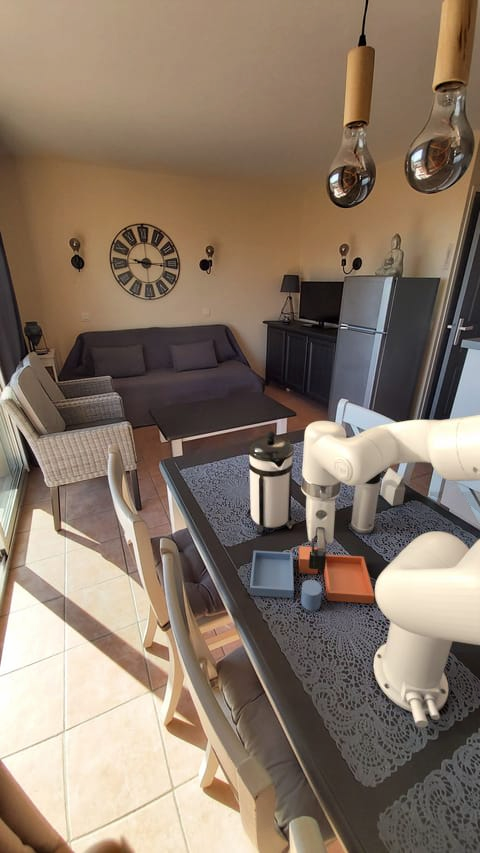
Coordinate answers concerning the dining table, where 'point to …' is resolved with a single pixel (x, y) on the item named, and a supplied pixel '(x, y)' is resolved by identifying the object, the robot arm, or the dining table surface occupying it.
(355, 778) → the dining table surface
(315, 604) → the blue cylinder
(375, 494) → the travel mug
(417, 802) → the dining table surface
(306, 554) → the terracotta block
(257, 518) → the coffee press
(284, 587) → the blue tray
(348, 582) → the terracotta tray
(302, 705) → the dining table surface
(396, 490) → the white gabled block
